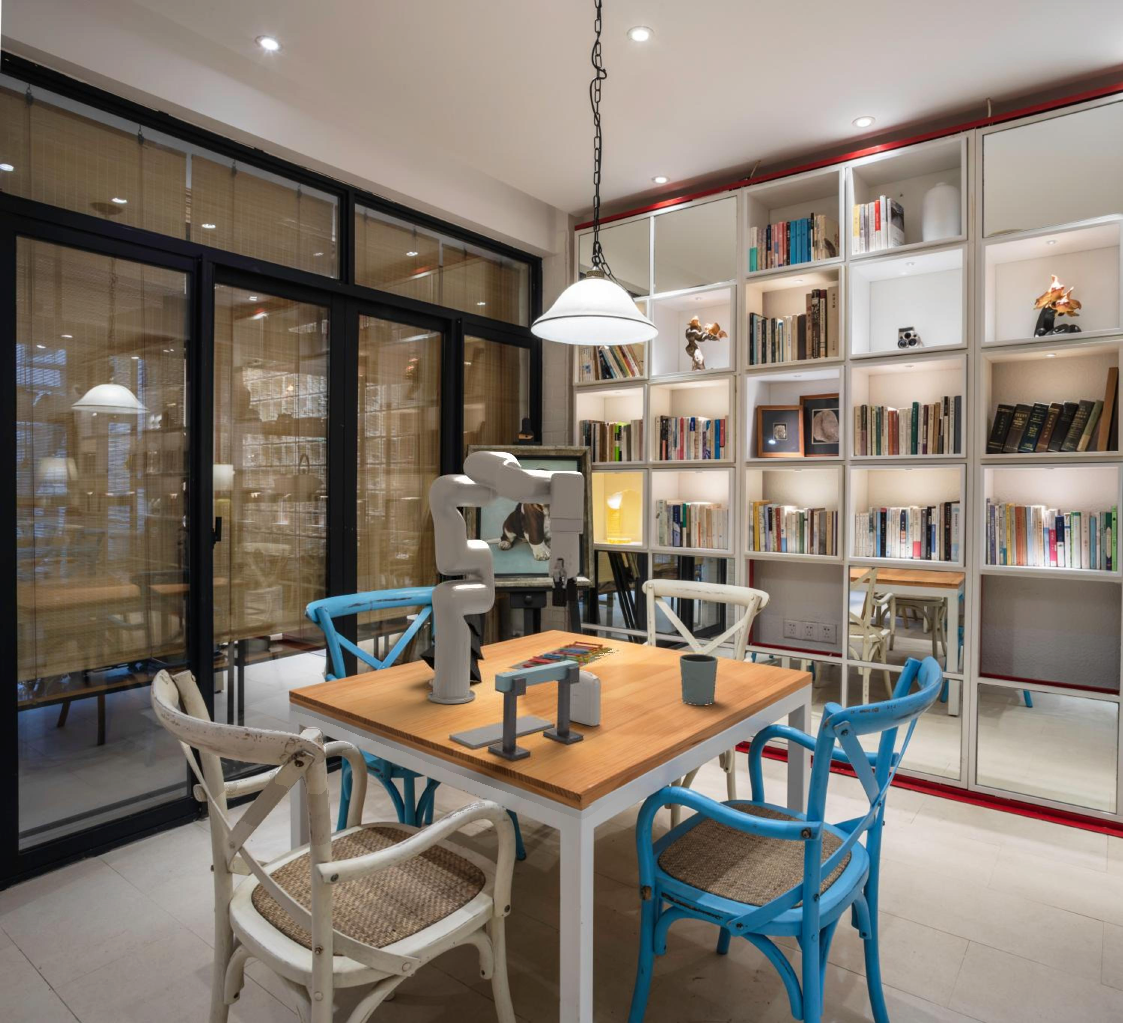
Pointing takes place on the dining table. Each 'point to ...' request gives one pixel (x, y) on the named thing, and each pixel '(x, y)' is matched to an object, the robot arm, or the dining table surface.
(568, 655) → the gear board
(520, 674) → the rail
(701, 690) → the grey green cup
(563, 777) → the dining table surface
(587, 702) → the photo printer
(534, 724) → the felt mat
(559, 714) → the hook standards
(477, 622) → the decorative tree
